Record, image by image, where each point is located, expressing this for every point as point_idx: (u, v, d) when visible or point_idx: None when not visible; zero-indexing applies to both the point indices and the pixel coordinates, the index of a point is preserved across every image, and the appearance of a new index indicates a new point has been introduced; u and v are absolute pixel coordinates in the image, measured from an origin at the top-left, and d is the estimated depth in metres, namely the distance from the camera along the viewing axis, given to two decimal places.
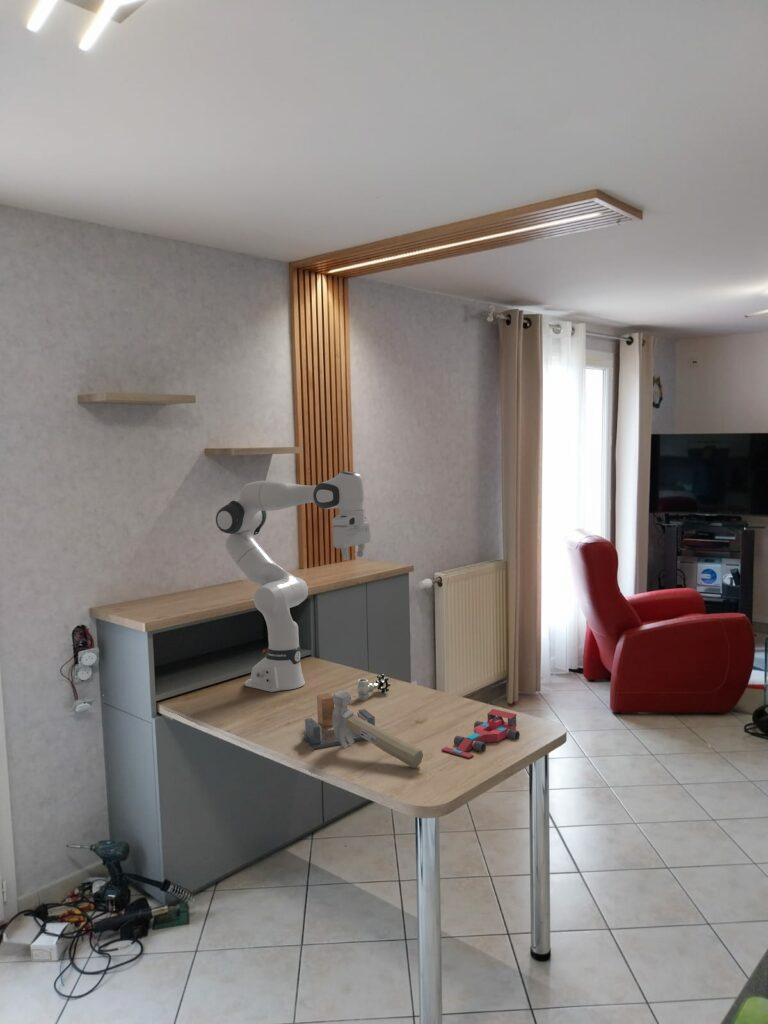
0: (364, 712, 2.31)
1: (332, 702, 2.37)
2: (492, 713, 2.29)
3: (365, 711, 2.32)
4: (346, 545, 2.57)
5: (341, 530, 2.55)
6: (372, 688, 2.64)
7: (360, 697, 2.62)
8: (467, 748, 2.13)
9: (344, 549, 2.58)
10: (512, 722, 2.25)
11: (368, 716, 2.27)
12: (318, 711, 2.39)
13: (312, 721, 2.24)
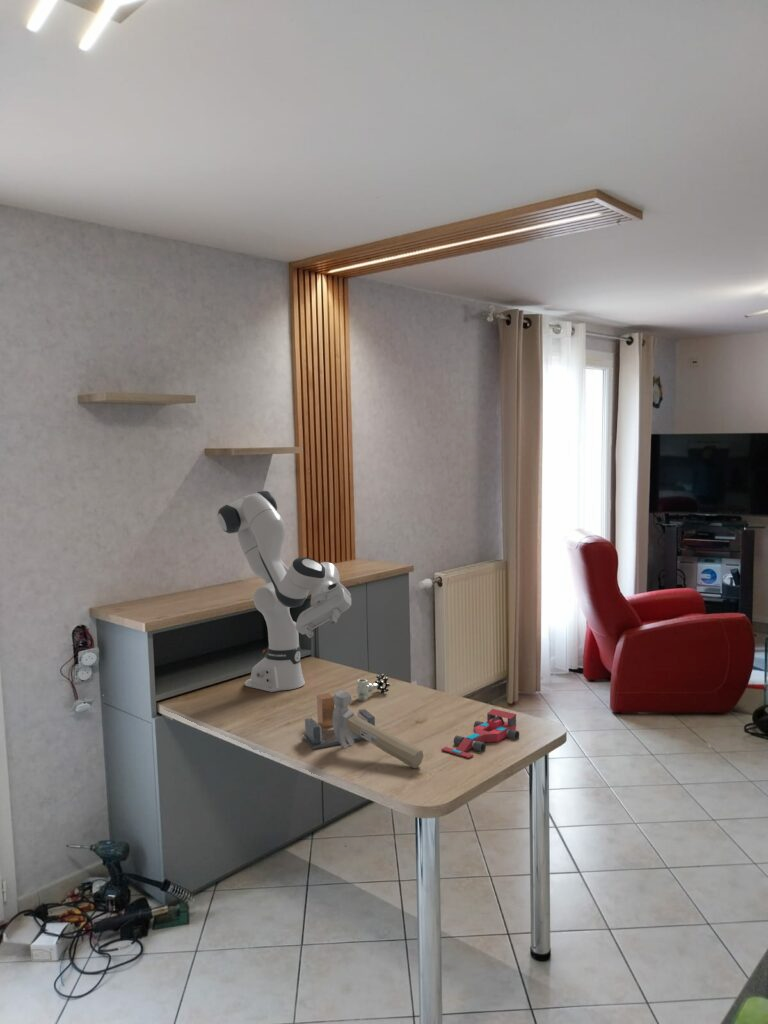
0: (364, 712, 2.31)
1: (332, 702, 2.37)
2: (492, 713, 2.29)
3: (365, 711, 2.32)
4: None
5: (349, 595, 2.43)
6: (372, 688, 2.64)
7: (360, 697, 2.61)
8: (467, 748, 2.13)
9: (339, 611, 2.38)
10: (512, 722, 2.25)
11: (368, 716, 2.27)
12: (318, 711, 2.39)
13: (312, 721, 2.24)
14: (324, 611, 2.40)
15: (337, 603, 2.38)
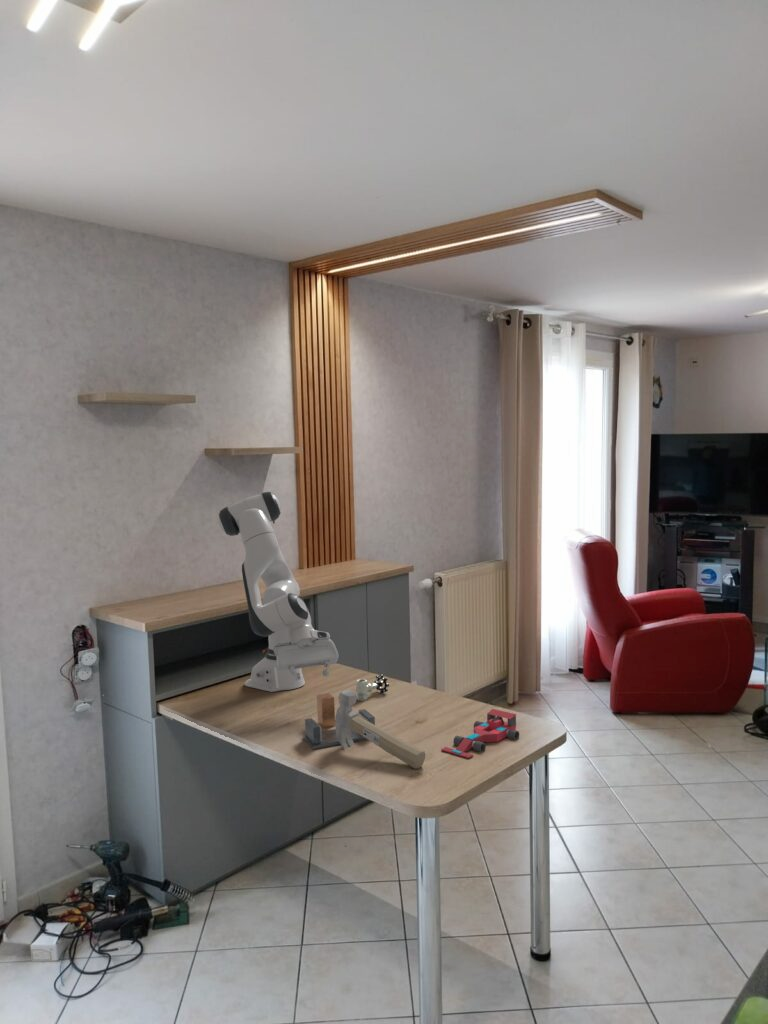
0: (364, 712, 2.31)
1: (332, 702, 2.37)
2: (492, 713, 2.29)
3: (365, 711, 2.32)
4: None
5: None
6: (371, 688, 2.64)
7: (359, 697, 2.61)
8: (467, 748, 2.13)
9: None
10: (512, 722, 2.25)
11: (368, 716, 2.27)
12: (318, 711, 2.39)
13: (312, 721, 2.24)
14: (315, 659, 2.49)
15: (331, 657, 2.51)
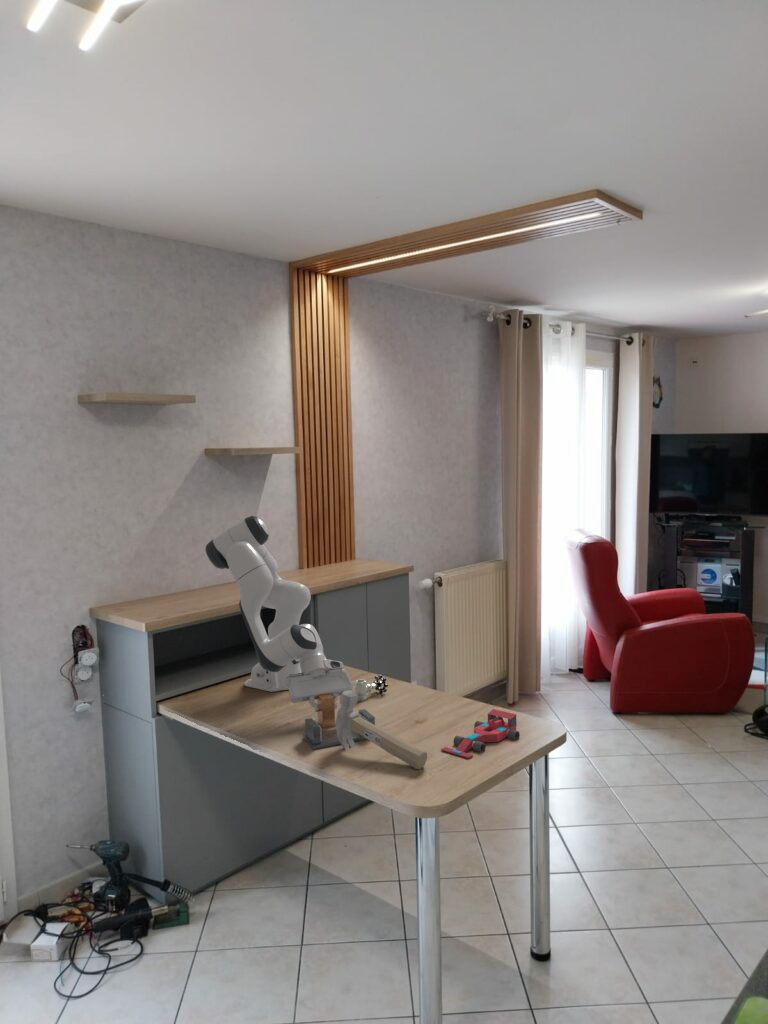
0: (364, 712, 2.31)
1: (332, 702, 2.37)
2: (492, 713, 2.29)
3: (365, 711, 2.32)
4: None
5: None
6: (370, 689, 2.63)
7: (358, 698, 2.61)
8: (466, 748, 2.13)
9: None
10: (512, 722, 2.25)
11: (368, 716, 2.27)
12: None
13: (312, 721, 2.24)
14: (329, 690, 2.41)
15: (345, 687, 2.43)
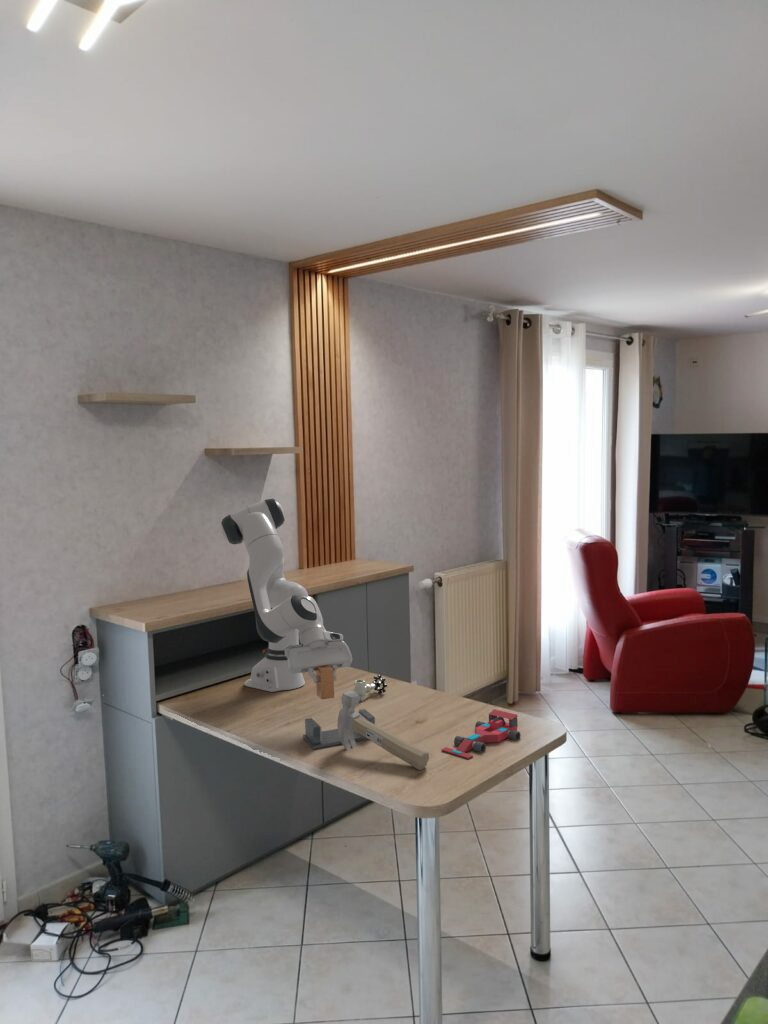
0: (364, 712, 2.31)
1: (331, 673, 2.33)
2: (493, 713, 2.29)
3: (365, 711, 2.32)
4: None
5: None
6: (369, 689, 2.63)
7: None
8: (467, 748, 2.13)
9: None
10: (513, 722, 2.25)
11: (368, 716, 2.27)
12: (317, 683, 2.36)
13: (312, 721, 2.24)
14: (329, 662, 2.37)
15: (344, 659, 2.40)
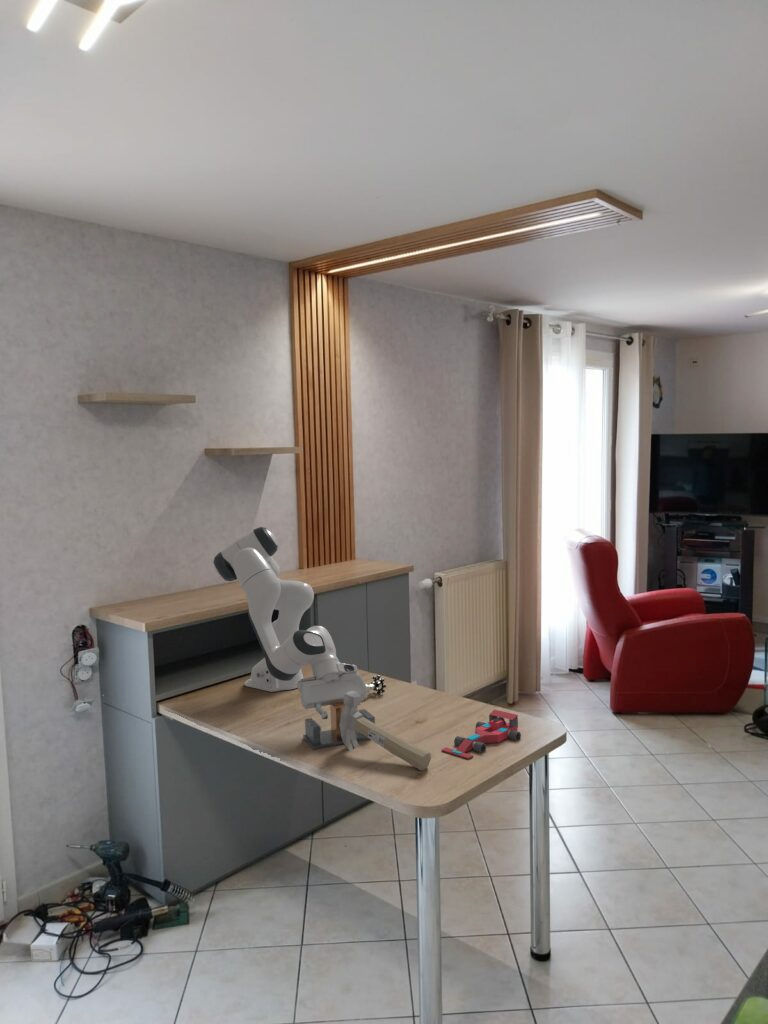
0: (364, 712, 2.31)
1: None
2: (494, 714, 2.29)
3: (365, 711, 2.32)
4: None
5: None
6: (368, 689, 2.63)
7: None
8: (467, 749, 2.13)
9: None
10: (513, 723, 2.24)
11: (368, 716, 2.27)
12: (332, 720, 2.27)
13: (312, 721, 2.24)
14: (343, 696, 2.29)
15: (359, 692, 2.31)
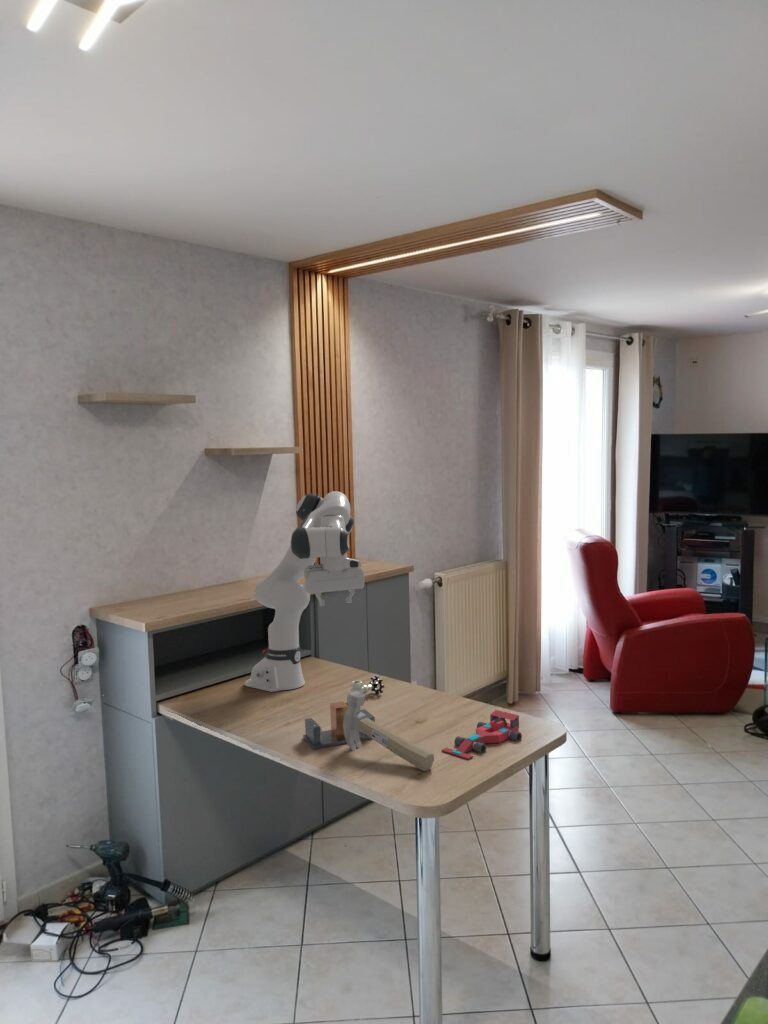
0: (364, 712, 2.31)
1: None
2: (495, 714, 2.28)
3: (365, 711, 2.32)
4: None
5: None
6: (366, 690, 2.62)
7: None
8: (467, 749, 2.13)
9: None
10: (514, 723, 2.24)
11: (368, 716, 2.27)
12: (332, 720, 2.27)
13: (312, 721, 2.24)
14: (342, 589, 2.54)
15: (357, 587, 2.56)
